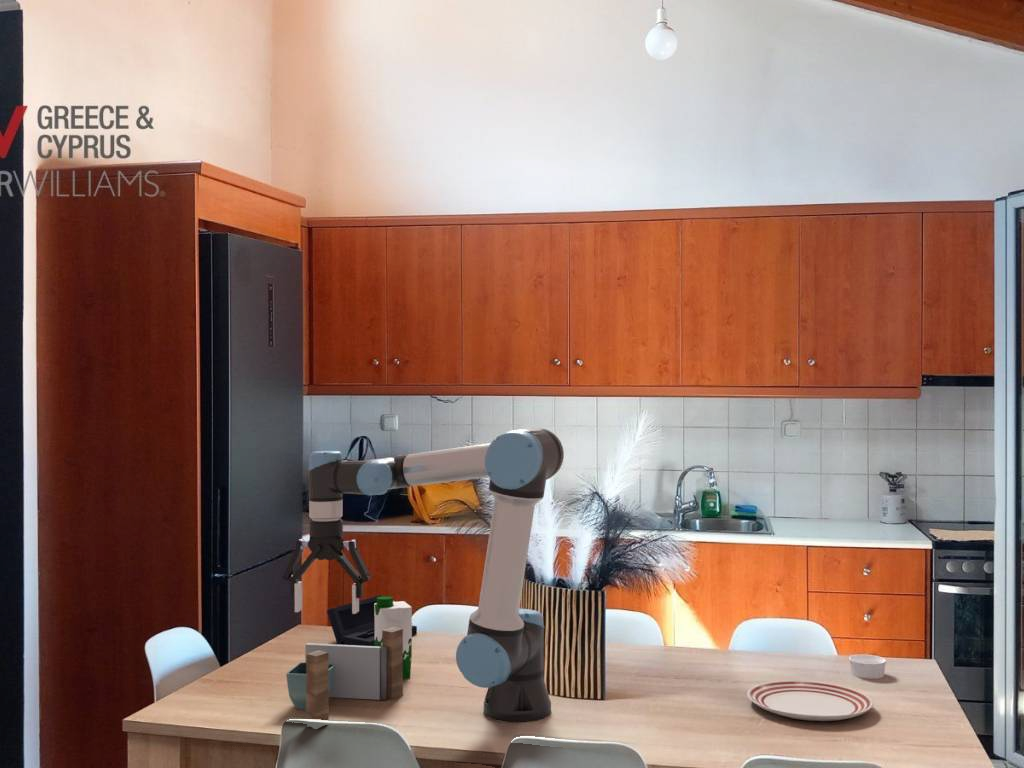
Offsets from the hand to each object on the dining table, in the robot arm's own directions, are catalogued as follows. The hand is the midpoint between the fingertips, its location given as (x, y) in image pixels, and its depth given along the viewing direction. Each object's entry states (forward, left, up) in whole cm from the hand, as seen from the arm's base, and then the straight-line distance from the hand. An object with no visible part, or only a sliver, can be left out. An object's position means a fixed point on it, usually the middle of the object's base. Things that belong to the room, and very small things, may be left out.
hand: (326, 611), depth 228 cm
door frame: (-8, -1, -22) cm, 23 cm away
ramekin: (-95, -95, -22) cm, 136 cm away
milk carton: (+3, -26, -22) cm, 34 cm away
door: (-8, -10, -22) cm, 25 cm away
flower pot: (+2, +3, -22) cm, 22 cm away
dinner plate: (-91, -61, -22) cm, 112 cm away
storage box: (+32, -51, -22) cm, 64 cm away
